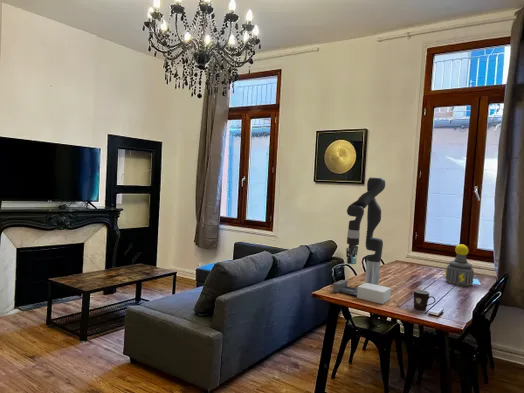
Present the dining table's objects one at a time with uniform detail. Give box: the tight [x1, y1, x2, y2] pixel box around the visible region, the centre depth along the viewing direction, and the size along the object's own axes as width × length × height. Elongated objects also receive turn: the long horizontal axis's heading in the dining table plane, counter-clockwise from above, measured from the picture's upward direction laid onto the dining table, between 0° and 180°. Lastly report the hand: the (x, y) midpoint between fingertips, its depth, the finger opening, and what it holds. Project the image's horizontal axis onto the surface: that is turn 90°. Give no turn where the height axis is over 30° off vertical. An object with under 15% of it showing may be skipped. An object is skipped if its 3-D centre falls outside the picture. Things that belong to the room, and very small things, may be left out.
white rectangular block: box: [356, 282, 392, 305], centre depth 234 cm, size 14×16×7 cm
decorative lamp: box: [445, 243, 475, 287], centre depth 293 cm, size 19×19×30 cm
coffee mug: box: [413, 289, 436, 312], centre depth 219 cm, size 12×9×10 cm
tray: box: [332, 279, 358, 297], centre depth 242 cm, size 14×18×5 cm
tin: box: [346, 256, 357, 265], centre depth 243 cm, size 6×6×4 cm
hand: (351, 262), depth 243 cm, fingers closed on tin, 6 cm apart
